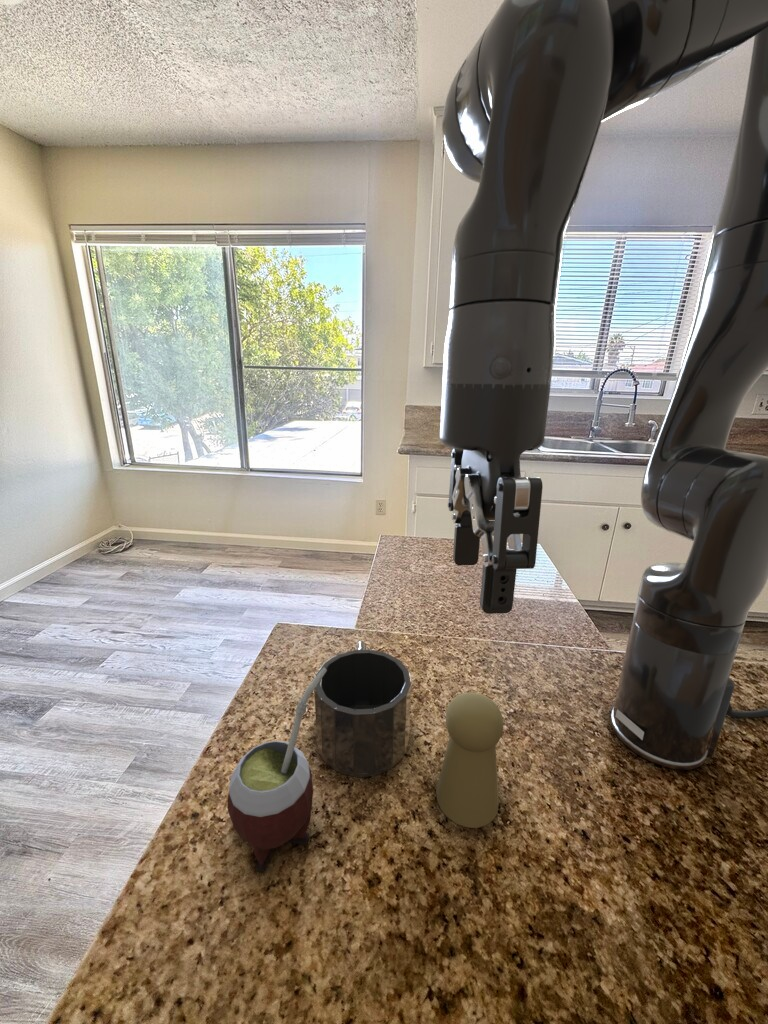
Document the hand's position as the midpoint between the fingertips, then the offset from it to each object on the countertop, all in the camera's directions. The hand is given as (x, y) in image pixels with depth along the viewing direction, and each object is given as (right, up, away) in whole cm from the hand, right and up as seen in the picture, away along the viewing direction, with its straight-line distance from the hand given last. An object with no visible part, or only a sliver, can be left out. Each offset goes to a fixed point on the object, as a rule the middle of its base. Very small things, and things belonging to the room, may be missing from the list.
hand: (478, 584), depth 35 cm
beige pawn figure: (0, -22, +7) cm, 23 cm away
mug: (-10, -19, +15) cm, 27 cm away
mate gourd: (-17, -23, +3) cm, 29 cm away
